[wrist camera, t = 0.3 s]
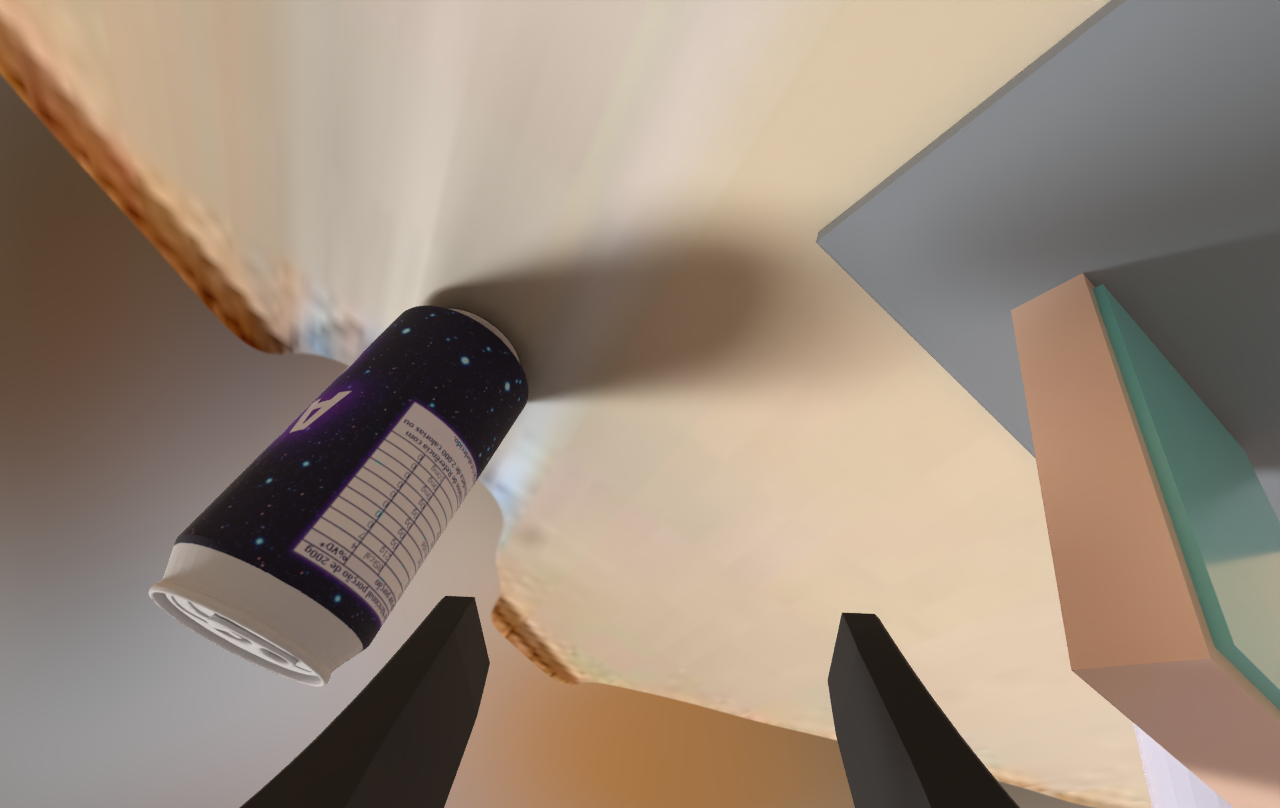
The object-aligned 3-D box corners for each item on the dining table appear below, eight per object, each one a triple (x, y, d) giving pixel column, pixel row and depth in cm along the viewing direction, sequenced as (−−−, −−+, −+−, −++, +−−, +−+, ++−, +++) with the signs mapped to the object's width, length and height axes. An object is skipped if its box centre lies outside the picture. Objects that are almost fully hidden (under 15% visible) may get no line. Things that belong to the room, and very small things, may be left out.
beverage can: (431, 262, 20) (122, 557, 12) (563, 360, 22) (358, 684, 14) (392, 344, 24) (138, 607, 17) (504, 423, 26) (320, 701, 18)
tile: (1246, 449, 15) (1457, 878, 9) (1161, 472, 16) (1297, 861, 10) (1092, 267, 13) (1230, 656, 7) (1011, 310, 14) (1071, 670, 8)
